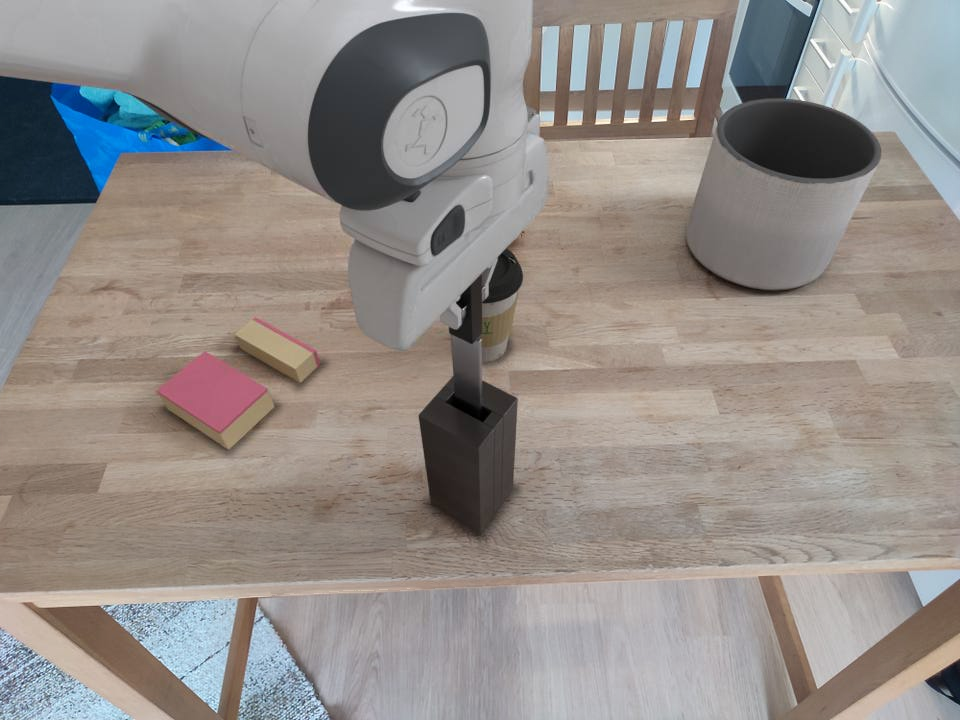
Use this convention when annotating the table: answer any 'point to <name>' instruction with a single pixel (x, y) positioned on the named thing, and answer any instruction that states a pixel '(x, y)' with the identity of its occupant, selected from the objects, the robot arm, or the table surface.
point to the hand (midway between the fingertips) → (464, 310)
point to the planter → (779, 191)
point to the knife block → (469, 455)
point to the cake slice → (277, 349)
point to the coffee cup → (500, 306)
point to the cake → (216, 399)
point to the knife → (469, 354)
